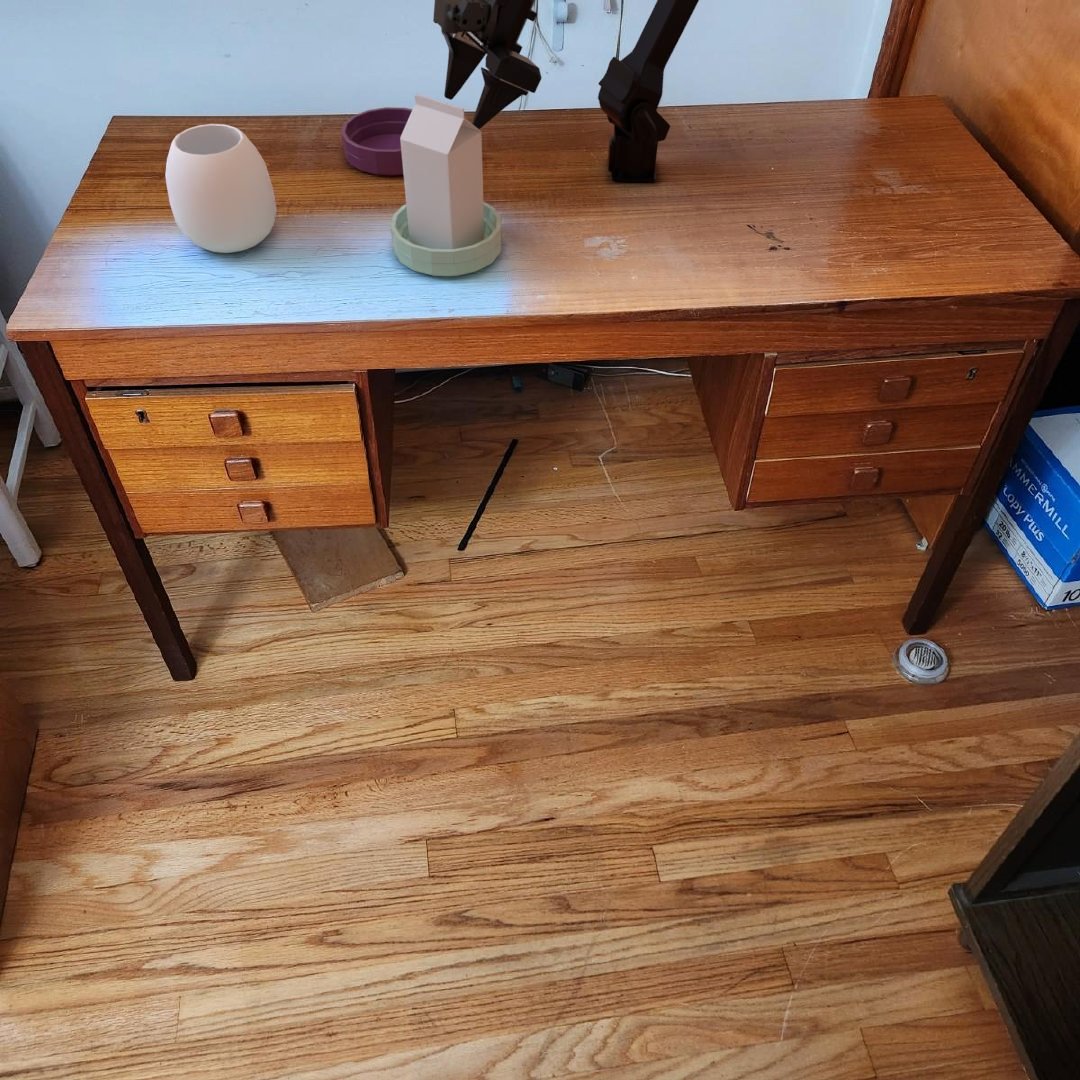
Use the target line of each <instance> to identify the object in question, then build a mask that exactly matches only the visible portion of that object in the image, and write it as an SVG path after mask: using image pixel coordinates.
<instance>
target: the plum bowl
mask: <svg viewBox="0 0 1080 1080" xmlns="http://www.w3.org/2000/svg"><path fill="white" fill-rule="evenodd" d="M412 110H413V108H408V107H393V106H392V107H389V106H388V107H387V106H386V107H380V108H373V109H367V110H365V111H362V112H359V113H357V114H354V115H352V116H351V117H350V118H348V119H347V120H346V121H345V122H344V123H342V127H341V132H340V136H341V143H342V150H343V151H342V152H343V156H344V157H345V159H346V160H347V163H348V164H349V165H351V167H352V166H353V167H354V168H356V169H358V170H359V171H362V172H365V173H368V174H372V175H378V176H389V177H390V176H402V175H403V176H404V174H403V163H402V152H401V141H400V137H401V135H402V133H403V130H404V128H405V126H406V124H407V121H408V119H409V117H410V114H411V112H412Z"/></svg>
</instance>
